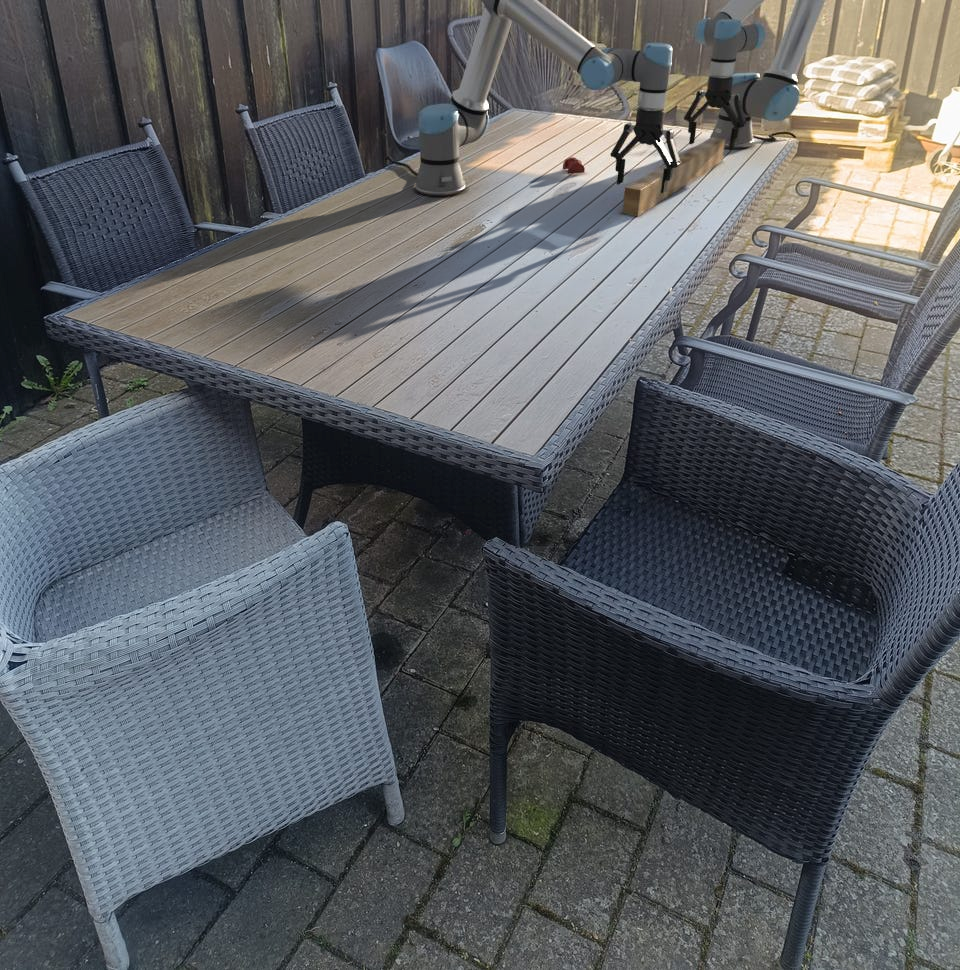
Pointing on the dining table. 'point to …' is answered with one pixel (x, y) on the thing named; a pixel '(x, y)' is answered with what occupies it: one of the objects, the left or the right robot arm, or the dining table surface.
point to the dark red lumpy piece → (573, 165)
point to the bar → (692, 166)
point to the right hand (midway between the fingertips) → (711, 146)
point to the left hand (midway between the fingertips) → (641, 187)
